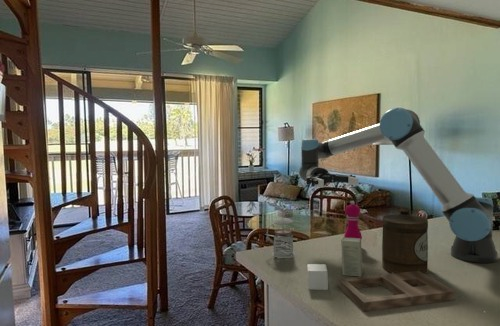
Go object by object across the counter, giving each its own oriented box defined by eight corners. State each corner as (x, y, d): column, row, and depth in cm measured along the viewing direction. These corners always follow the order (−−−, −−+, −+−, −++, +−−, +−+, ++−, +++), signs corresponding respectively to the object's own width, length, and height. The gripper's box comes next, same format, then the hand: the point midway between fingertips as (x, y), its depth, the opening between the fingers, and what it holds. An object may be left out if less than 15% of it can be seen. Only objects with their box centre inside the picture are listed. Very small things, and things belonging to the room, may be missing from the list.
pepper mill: (343, 248, 148) (342, 202, 147) (345, 243, 155) (344, 199, 154) (361, 250, 146) (360, 202, 144) (362, 245, 152) (362, 199, 151)
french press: (294, 259, 138) (293, 196, 136) (265, 258, 140) (263, 196, 138) (296, 251, 147) (295, 192, 146) (269, 250, 150) (267, 192, 148)
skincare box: (362, 272, 122) (362, 238, 121) (361, 277, 118) (360, 241, 117) (343, 270, 125) (343, 236, 124) (341, 274, 121) (341, 240, 120)
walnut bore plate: (418, 278, 116) (418, 270, 116) (454, 299, 100) (455, 291, 100) (338, 287, 111) (338, 279, 111) (364, 311, 95) (364, 302, 95)
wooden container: (430, 278, 115) (430, 212, 114) (382, 273, 121) (381, 210, 119) (425, 263, 129) (425, 204, 128) (382, 259, 134) (381, 202, 133)
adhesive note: (327, 290, 109) (327, 271, 109) (308, 289, 110) (307, 271, 110) (325, 282, 115) (325, 264, 115) (307, 281, 116) (307, 264, 116)
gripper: (345, 183, 152) (371, 191, 131) (289, 186, 147) (307, 194, 126) (345, 166, 151) (371, 171, 130) (289, 168, 146) (307, 173, 126)
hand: (340, 182), depth 128 cm, fingers open, 13 cm apart
